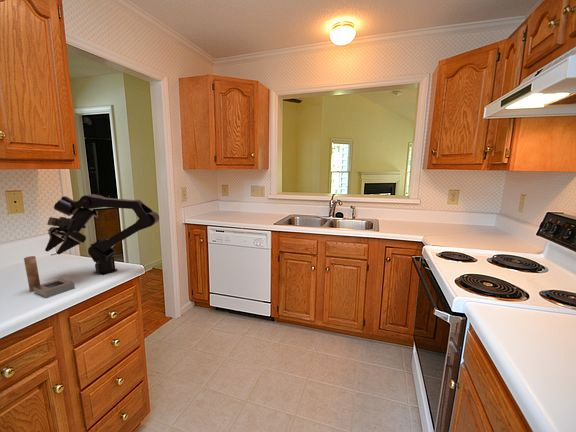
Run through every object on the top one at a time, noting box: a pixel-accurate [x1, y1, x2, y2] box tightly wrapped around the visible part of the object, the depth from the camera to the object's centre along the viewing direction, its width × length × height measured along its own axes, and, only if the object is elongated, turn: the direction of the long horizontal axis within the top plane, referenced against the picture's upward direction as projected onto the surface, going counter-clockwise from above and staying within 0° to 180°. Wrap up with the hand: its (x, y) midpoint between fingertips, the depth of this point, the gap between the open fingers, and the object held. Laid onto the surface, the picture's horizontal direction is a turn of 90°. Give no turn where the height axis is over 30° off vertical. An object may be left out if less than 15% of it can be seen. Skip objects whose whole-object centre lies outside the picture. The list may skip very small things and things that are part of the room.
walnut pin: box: [23, 255, 41, 293], centre depth 104 cm, size 3×3×13 cm
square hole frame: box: [34, 277, 76, 299], centre depth 104 cm, size 9×9×2 cm
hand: (51, 252), depth 109 cm, fingers open, 9 cm apart
